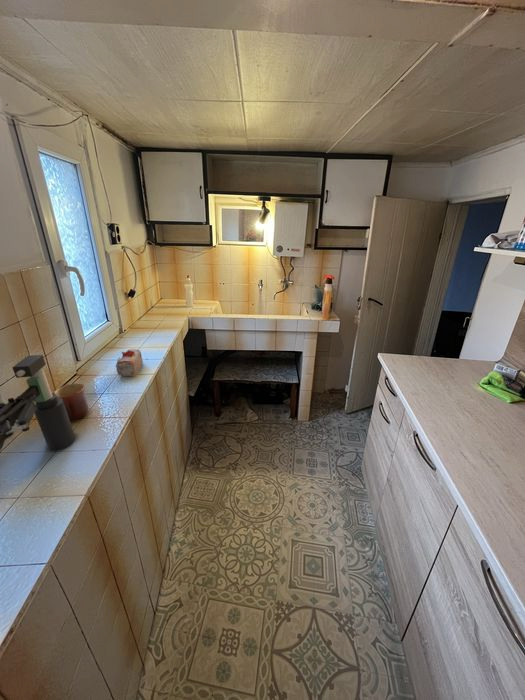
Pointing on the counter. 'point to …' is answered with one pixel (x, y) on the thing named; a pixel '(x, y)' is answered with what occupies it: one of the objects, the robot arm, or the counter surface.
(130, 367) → the food item
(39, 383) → the trigger
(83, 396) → the mug
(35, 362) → the spray bottle
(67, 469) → the counter surface
